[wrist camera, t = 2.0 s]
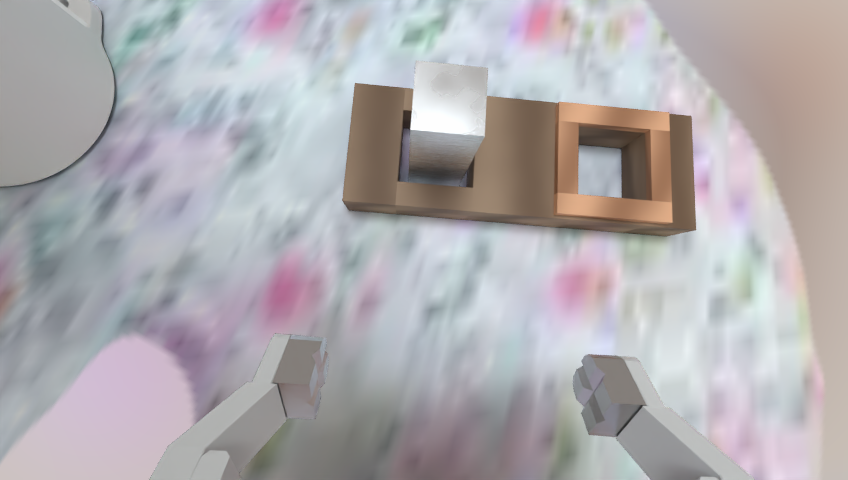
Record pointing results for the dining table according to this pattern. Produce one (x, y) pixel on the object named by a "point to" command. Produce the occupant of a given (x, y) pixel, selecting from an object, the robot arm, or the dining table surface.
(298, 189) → the dining table surface
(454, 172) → the steel post
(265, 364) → the robot arm
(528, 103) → the walnut rail
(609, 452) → the dining table surface
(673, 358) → the dining table surface
